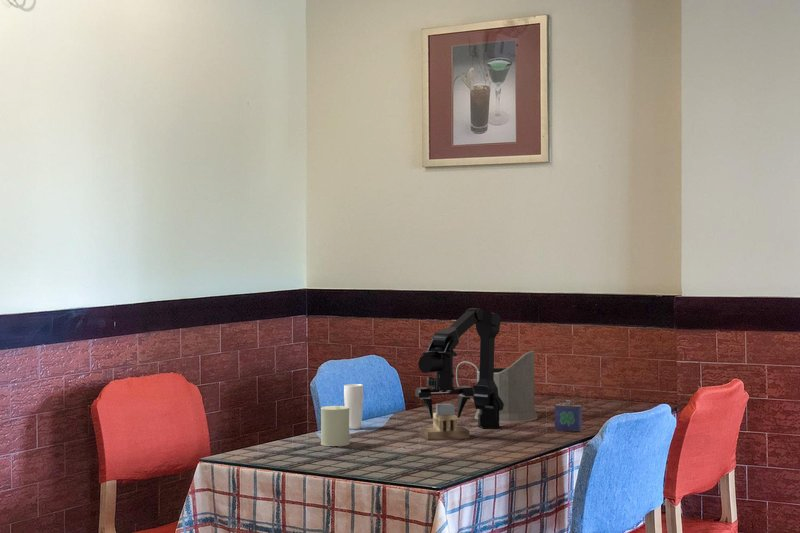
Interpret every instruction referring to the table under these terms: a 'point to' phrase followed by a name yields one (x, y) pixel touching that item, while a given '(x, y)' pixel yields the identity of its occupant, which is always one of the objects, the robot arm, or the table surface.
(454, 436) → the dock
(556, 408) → the flask
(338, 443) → the can
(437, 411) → the block
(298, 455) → the table surface
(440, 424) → the block
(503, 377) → the pitcher
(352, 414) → the drinking glass
